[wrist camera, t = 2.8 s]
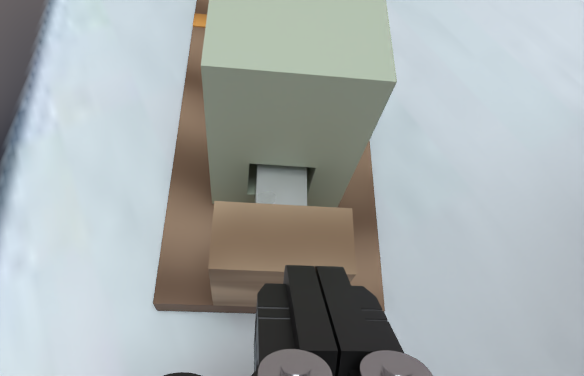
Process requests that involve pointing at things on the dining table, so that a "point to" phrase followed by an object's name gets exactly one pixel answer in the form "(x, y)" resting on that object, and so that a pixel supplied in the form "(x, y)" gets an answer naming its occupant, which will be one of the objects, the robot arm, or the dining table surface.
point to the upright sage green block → (293, 90)
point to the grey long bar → (281, 185)
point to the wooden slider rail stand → (251, 224)
